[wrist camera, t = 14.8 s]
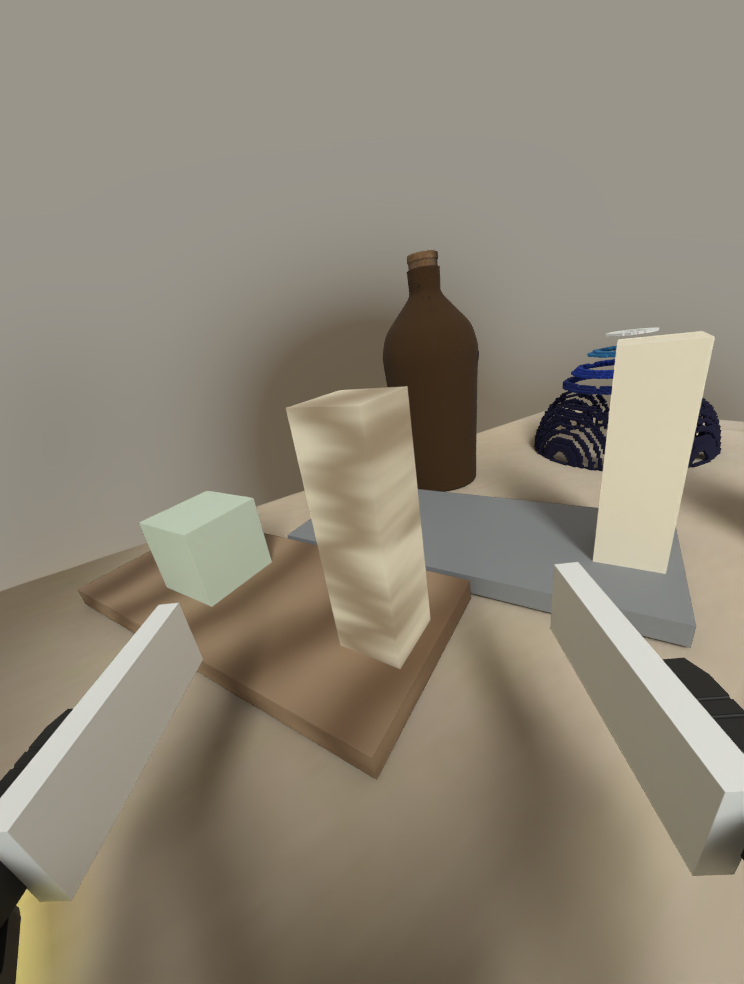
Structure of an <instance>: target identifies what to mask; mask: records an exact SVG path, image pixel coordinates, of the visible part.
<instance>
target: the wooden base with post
mask: <svg viewBox="0 0 744 984" xmlns="http://www.w3.org/2000/svg"><path fill="white" fill-rule="evenodd" d="M286 410H287V415H288V419H289V423H290V428H291V432H292V436H293V441H294V445H295V449H296V454H297V458H298V463H299V467H300V471H301V475H302V480H303V484H304V489H305V493H306V498H307V502H308V506H309V511H310V515H311V519H312V524H313V528H314V532H315V537H316V541H317V545H313V544H309V543H305V542H300V541H296V540H292V539H287V538H283V537H279V536H274V535H270V534H265V533H264V537H265V540H266V544H267V547H268V550H269V554H270V557H271V561H272V562H271V563H270V564H269V565H267V566H266V567H265V568H263V569H262V570H261V571H259V572H258V573H257V574H255V575H254V576H252V577H251V578H250V579H248V580H247V581H246V582H244V583H243V584H242V585H240V586H239V587H238V588H236V589H235V590H234V591H232V592H231V593H230V594H228V595H227V596H226V597H224V598H223V599H222V600H220V601H219V602H218V603H216V604H215V605H214V606H212V607H211V606H209V605H207V604H204V603H202V602H200V601H197V600H195V599H193V598H190V597H188V596H186V595H183V594H181V593H179V592H176V591H174V590H172V589H170V588H167V586H166V584H165V582H164V580H163V577H162V575H161V573H160V570H159V568H158V566H157V564H156V561H155V559H154V557H153V554H152V552H151V551H149V552H147V553H145V554H143V555H141V556H140V557H138V558H136V559H134V560H132V561H130V562H128V563H126V564H125V565H123V566H121V567H119V568H117V569H115V570H113V571H112V572H110V573H108V574H106V575H104V576H102V577H100V578H98V579H97V580H95V581H93V582H91V583H89V584H87V585H85V586H83V587H82V588H80V589H78V591H79V593H80V595H81V597H82V599H83V600H84V602H85V604H87V605H89V606H90V607H92V608H93V609H95V610H97V611H98V612H100V613H102V614H103V615H105V616H107V617H108V618H110V619H112V620H113V621H115V622H117V623H118V624H120V625H122V626H123V627H125V628H127V629H128V630H130V631H132V632H133V633H136V632H137V631H138V629H139V628H140V627H141V626H142V624H143V623H144V622H145V621H146V620H147V618H148V617H149V616H150V615H151V613H152V612H153V611H154V610H155V609H156V607H157V606H158V605H161V604H171V603H179V604H180V607H181V609H182V611H183V614H184V616H185V618H186V621H187V623H188V625H189V628H190V630H191V632H192V634H193V637H194V639H195V641H196V644H197V646H198V648H199V651H200V653H201V655H202V658H203V660H202V662H201V664H200V666H199V668H198V670H197V671H198V672H199V673H201V674H203V675H204V676H206V677H208V678H209V679H211V680H213V681H214V682H216V683H218V684H219V685H221V686H223V687H224V688H226V689H228V690H229V691H231V692H232V693H234V694H236V695H237V696H239V697H241V698H242V699H244V700H246V701H247V702H249V703H251V704H252V705H254V706H256V707H257V708H259V709H261V710H262V711H264V712H266V713H267V714H269V715H271V716H272V717H274V718H276V719H277V720H279V721H280V722H282V723H284V724H285V725H287V726H289V727H290V728H292V729H294V730H295V731H297V732H299V733H300V734H302V735H304V736H305V737H307V738H309V739H310V740H312V741H314V742H315V743H317V744H319V745H320V746H322V747H324V748H325V749H327V750H328V751H330V752H332V753H333V754H335V755H337V756H338V757H340V758H342V759H343V760H345V761H347V762H348V763H350V764H352V765H353V766H355V767H357V768H358V769H360V770H362V771H363V772H365V773H367V774H368V775H370V776H372V777H373V778H375V779H376V780H377V778H378V776H379V774H380V772H381V770H382V768H383V766H384V764H385V762H386V761H387V759H388V757H389V755H390V753H391V751H392V749H393V747H394V745H395V743H396V741H397V739H398V737H399V736H400V734H401V732H402V730H403V728H404V726H405V724H406V722H407V720H408V718H409V716H410V714H411V712H412V710H413V709H414V707H415V705H416V703H417V701H418V699H419V697H420V695H421V693H422V691H423V689H424V687H425V685H426V684H427V682H428V680H429V678H430V676H431V674H432V672H433V670H434V668H435V666H436V664H437V662H438V660H439V659H440V657H441V655H442V653H443V651H444V649H445V647H446V645H447V643H448V641H449V639H450V637H451V635H452V634H453V632H454V630H455V628H456V626H457V624H458V622H459V620H460V618H461V616H462V614H463V612H464V610H465V609H466V607H467V605H468V603H469V601H470V599H471V587H470V580H465V579H461V578H457V577H452V576H448V575H444V574H439V573H435V572H431V571H426V568H425V558H424V548H423V538H422V528H421V518H420V508H419V498H418V488H417V478H416V468H415V458H414V448H413V438H412V427H411V417H410V407H409V397H408V387H407V386H405V387H388V388H374V389H373V388H372V389H355V390H340V391H336V392H333V393H330V394H327V395H324V396H321V397H318V398H315V399H312V400H309V401H306V402H303V403H300V404H297V405H294V406H290V407H287V408H286Z"/></svg>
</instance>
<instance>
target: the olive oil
mask: <svg viewBox="0 0 744 984" xmlns="http://www.w3.org/2000/svg"><path fill="white" fill-rule="evenodd" d="M437 259H438V252H437V251H434V250H428V251H421V252H417V253H413V254H411V255H409V256H408V257H407V264H408V267H409V271H408V272H407V277H408V285H409V298H408V301H407V302H406V304H405V306H404V307H403V309H402V311H401V312H400V314H399V315H398V317H397V318H396V320H395V321H394V323H393V325H392V326H391V328H390V330H389V331H388V333H387V336H386V338H385V343H384V350H383V364H384V370H385V376H386V381H387V387H405V386H407V387H408V397H409V407H410V417H411V427H412V438H413V448H414V458H415V468H416V478H417V488H418V489H421V490H431V491H440V492H441V491H449V490H454V489H458V488H461V487H463V486H466V485H468V484H469V483H471V482H472V481H473V480H474V479H475V477H476V424H477V377H478V357H479V351H478V343H477V339H476V335H475V332H474V329H473V327H472V325H471V323H470V322H469V320H468V319H467V318H466V317H465V316H464V315H463V314H462V313H461V312H460V311H459V310H458V309H457V308H456V307H455V306H454V305H453V304H452V303H451V302H450V301H449V300H448V299H447V298H446V297H445V296H444V295H443V294H442V292H441V290H440V267H439V266H438V265H437Z"/></svg>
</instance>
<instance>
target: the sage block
mask: <svg viewBox="0 0 744 984" xmlns="http://www.w3.org/2000/svg"><path fill="white" fill-rule="evenodd" d="M139 524H140V527H141V529H142V532H143V534H144V536H145V538H146V541H147V543H148V545H149V548H150V550H151V552H152V554H153V557H154V559H155V561H156V564H157V566H158V568H159V570H160V573H161V575H162V577H163V580H164V582H165V584H166V586H167V588H170V589H172V590H174V591H176V592H179V593H181V594H183V595H186V596H188V597H190V598H193V599H195V600H197V601H200V602H202V603H204V604H207V605H209V606H211V607H212V606H214V605H215V604H216V603H218V602H219V601H220V600H222V599H223V598H224V597H226V596H227V595H228V594H230V593H231V592H232V591H234V590H235V589H236V588H238V587H239V586H240V585H242V584H243V583H244V582H246V581H247V580H248V579H250V578H251V577H252V576H254V575H255V574H257V573H258V572H259V571H261V570H262V569H263V568H265V567H266V566H267V565H269V564H270V563H271V562H272V561H271V557H270V554H269V550H268V547H267V544H266V540H265V537H264V533H263V530H262V526H261V523H260V520H259V516H258V513H257V509H256V506H255V502H254V499H253V498H249V497H243V496H236V495H231V494H224V493H218V492H212V491H205V492H203V493H201V494H199V495H197V496H195V497H193V498H191V499H188V500H186V501H184V502H182V503H180V504H177V505H175V506H173V507H171V508H169V509H167V510H165V511H163V512H160V513H158V514H156V515H154V516H152V517H149V518H147V519H145V520H143V521H141V522H139Z"/></svg>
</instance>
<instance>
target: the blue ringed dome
mask: <svg viewBox="0 0 744 984" xmlns="http://www.w3.org/2000/svg"><path fill="white" fill-rule="evenodd" d="M657 330H659V328H640V329H632V330H624V331H616V332H610V333H607V334H605V336H623V335H635V334H642V333H649V332H654V331H657ZM616 349H617V346H611V347H606V348H602V349H597V350H593V352H591V353H588V357H599V358H603V357H604V358H606V357H616V351H612V350H616ZM609 365H610V366H611V365H615V359H613V360H605V361H598V362H595V363H594V364H584V365H580V366H578V367H577V368H576V369H575V370H574V371H572V372H571V375H573V376H574V377H570V378H568V379H566V380H565V381H564V382H563V389H564V390H568V392H565V393H562V395H560V397H559V398H556V401H554V403H553V404H550V406H549V408H548V411H545V416H543V417H542V419H541V422H540V426H538V429H537V432H536V435H535V444H534V447H535V450H536V451H537V452H538V454H540V455H542V456H544V457H545V458H547V459H550V461H553V462H556V463H559V464H563V465H569V466H572V467H579V468H582V469H583V468H585V469H588V470H595V471H596V470H599V471H603V465H601V464H602V458H600V453H601V451H599V446H597V443H595V441H594V438H592V435H590V433H588V432H586V430H585V427H586V428H591V429H590V431H592V433H593V434H594V436H596V439H598V441H599V442H600V443H599V444H601V449H603V454H605V447H606V437H605V436H604V434H602V431H600V427H602V426H604V429H608V421H609V418H608V415H609V413H608V412H609V410H610V408H608V407H607V404H605V403H606V402H607V401H605V399H604V398H603V396H602V395H601V394H604V395H609V394H610V395H611V394H612V386H600V389H596V386H587V385H579V387H578V384H575V382H578V381H582V380H586V379H610V378H611V379H613V376H614V370H600V371H599V370H590V369H589V368H596V367H602V366H609ZM572 392H574V393H577V394H573V395H568V396H566V395H567V394H570V393H572ZM588 394H590V395H588ZM592 394H598V395H596V397H597V399H599V400H600V402H599V403H602V406H604V407H605V408H606V409H605V410H604V412H602V411H603V409H601V408H600V404H598V402H597V400H594V399H595V398H594V397H593V396H592ZM574 396H578V397H579V398H582V397H585V399H588V400H590V401H591V402H592V404H593V405H592V406H588V404H587V403H584V402H583V400H580V401H579V399H577V400H576V398H574V399H570V400H566V398H570V397H574ZM560 402H561V403H560ZM558 403H560V404H558ZM596 404H598V405H596ZM563 407H564V408H563ZM565 408H569V409H565ZM713 408H714V407H712V405H710V404H709V402H708V401H705V399H704V398H702V401H701V406H700V411H699V416H698V421H697V427H696V430H695V435H694V437H696V438H694V440H693V445H692V450H691V455H690V459H689V464H688V468H689V467H697V466H700V465H703V464H705V463H708V462H711V461H710V460H713V459H714V458H715V457H716V456H717V455H718V454H720V451H721V448H720V446H721V442H720V440H721V436H720V434H721V430H720V427H721V426H720V425H719V420H718V419H717V417H718V416H716V414H717V413H716V412H715V411H714V410H713ZM570 409H572V410H570ZM573 410H578V411H583V412H582V413H577V412H575V411H573ZM596 412H597V413H596ZM553 415H554V416H553ZM562 415H563V416H562ZM592 415H593V416H592ZM700 415H701V416H700ZM702 416H703V418H702ZM551 417H552V418H551ZM593 417H594V418H596V421H595V425H594V423H593ZM583 419H584V420H583ZM547 420H548V421H547ZM570 420H573V421H576V422H577V426H576V425H575V426H573V425H571V422H570ZM602 420H603V423H602V424H598V421H602ZM703 423H705V425H706V427H705V426H704V425H703ZM581 424H582V425H584V427H581V426H580V425H581ZM560 425H561V426H562V427H566V429H561V430H557V429H555V428H557V427H559V426H560ZM573 429H574V430H576V429H579V431H580V432H584V435H586V437H587V438H588V440H590V443H593V450H594V451H595V453H597V455H596V458H598V466H597V468H594V464H596V462H592V457H591V453H590V452H589V448H588V445H586V443H585V442H584V440H582V439H580V437H579V434H575V433H570V430H573ZM698 432H699V433H698ZM559 433H562V434H566V435H570V436H573V438H574V439H575V441H577V442H578V444H580V447H582V449H583V452H585V457H587V459H588V460H589V461H588V467H584V465H582V462H583V456H581V453H579V452H580V449H579V448H576V445H574V444H575V443H573V440H569V439H565V438H561V437H556V438H552V440H551V441H547V440H549V439H550V438H551V437H552V435H553V436H555V435H556V434H557V435H558V434H559ZM696 433H698V435H696ZM546 442H547V444H546ZM544 445H546V447H545V448H544ZM558 451H560V452H563V455H565V457H566V460H568V463H566V462H563V461H559V460H556V459H554V458H553V455H555V454H556V453H557V452H558ZM702 451H703V452H704V454H705V456H706V458H704V459H703V460H702V461H699V462H697V463H694V464H692V462H693V461H694V460H695V458H697V455H699V452H702Z"/></svg>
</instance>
